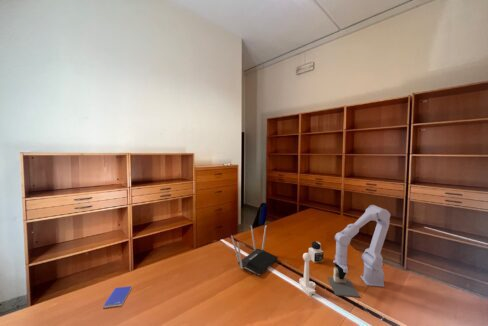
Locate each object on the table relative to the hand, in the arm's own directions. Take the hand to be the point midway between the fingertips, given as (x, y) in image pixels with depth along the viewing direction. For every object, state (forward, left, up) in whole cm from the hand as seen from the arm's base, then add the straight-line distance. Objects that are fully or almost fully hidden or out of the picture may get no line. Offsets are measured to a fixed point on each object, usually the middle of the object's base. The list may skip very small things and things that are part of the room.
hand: (340, 277), depth 114 cm
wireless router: (+50, -14, -3) cm, 52 cm away
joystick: (+19, +7, -3) cm, 21 cm away
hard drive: (+117, +26, -4) cm, 120 cm away
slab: (0, 0, -2) cm, 2 cm away
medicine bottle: (+8, -23, -3) cm, 25 cm away
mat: (0, +4, -3) cm, 5 cm away
